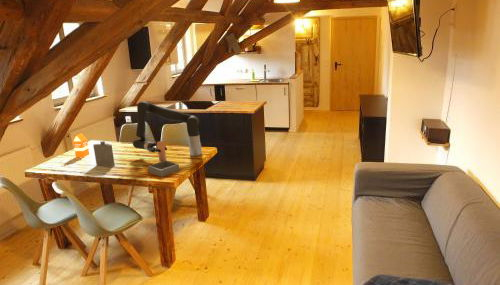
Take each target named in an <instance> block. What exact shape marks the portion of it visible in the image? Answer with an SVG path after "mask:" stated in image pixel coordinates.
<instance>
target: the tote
mask: <svg viewBox="0 0 500 285" xmlns="http://www.w3.org/2000/svg"><path fill="white" fill-rule="evenodd" d="M147 170H148V173H149V174H152V175H154V176H155V175H156V176H158V177H160V178H162V177H165V176H168V175H170V174H174V173H177V172H179V171H180V165H179V163H176V162H172V161H169V160H167V159H166V160H165V161H159V162H155V163H153V164H150V165H148V166H147Z"/></svg>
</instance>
